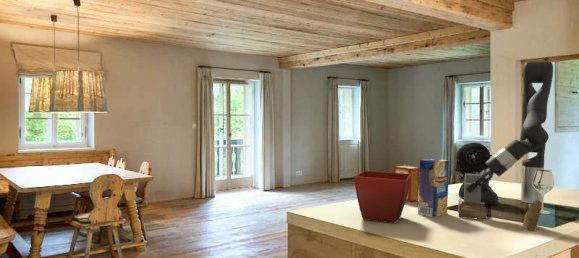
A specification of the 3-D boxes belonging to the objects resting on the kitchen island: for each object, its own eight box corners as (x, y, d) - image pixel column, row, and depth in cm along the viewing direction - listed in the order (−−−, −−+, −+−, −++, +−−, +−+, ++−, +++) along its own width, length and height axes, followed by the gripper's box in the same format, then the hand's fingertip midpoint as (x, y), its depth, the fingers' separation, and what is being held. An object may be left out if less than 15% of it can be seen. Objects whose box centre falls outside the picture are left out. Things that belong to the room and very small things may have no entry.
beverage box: (447, 213, 183) (449, 160, 182) (433, 217, 175) (435, 161, 175) (432, 210, 188) (433, 158, 187) (417, 213, 181) (419, 159, 180)
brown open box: (458, 211, 188) (458, 198, 188) (483, 213, 184) (484, 200, 184) (458, 217, 177) (459, 203, 176) (486, 219, 173) (486, 205, 173)
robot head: (512, 205, 202) (502, 141, 201) (474, 211, 202) (464, 147, 202) (484, 193, 232) (475, 138, 231) (451, 199, 232) (442, 143, 232)
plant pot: (405, 226, 158) (406, 179, 158) (352, 221, 165) (353, 175, 165) (410, 216, 176) (411, 173, 176) (362, 211, 183) (363, 170, 183)
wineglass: (556, 215, 186) (558, 172, 185) (534, 213, 187) (536, 171, 187) (548, 211, 194) (550, 169, 193) (528, 209, 195) (530, 169, 195)
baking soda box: (393, 198, 213) (394, 165, 213) (402, 197, 217) (403, 165, 217) (409, 202, 206) (410, 167, 205) (418, 201, 210) (419, 167, 209)
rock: (541, 226, 154) (555, 219, 160) (526, 204, 158) (539, 198, 164) (517, 238, 162) (531, 231, 168) (503, 217, 166) (516, 211, 171)
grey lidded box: (463, 199, 184) (464, 173, 184) (479, 201, 182) (480, 174, 181) (464, 201, 179) (465, 174, 179) (480, 203, 177) (481, 175, 177)
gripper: (492, 153, 184) (460, 180, 188) (496, 156, 171) (461, 185, 175) (506, 167, 182) (473, 194, 187) (510, 170, 169) (475, 199, 173)
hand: (467, 189), depth 181 cm, fingers closed on grey lidded box, 5 cm apart
